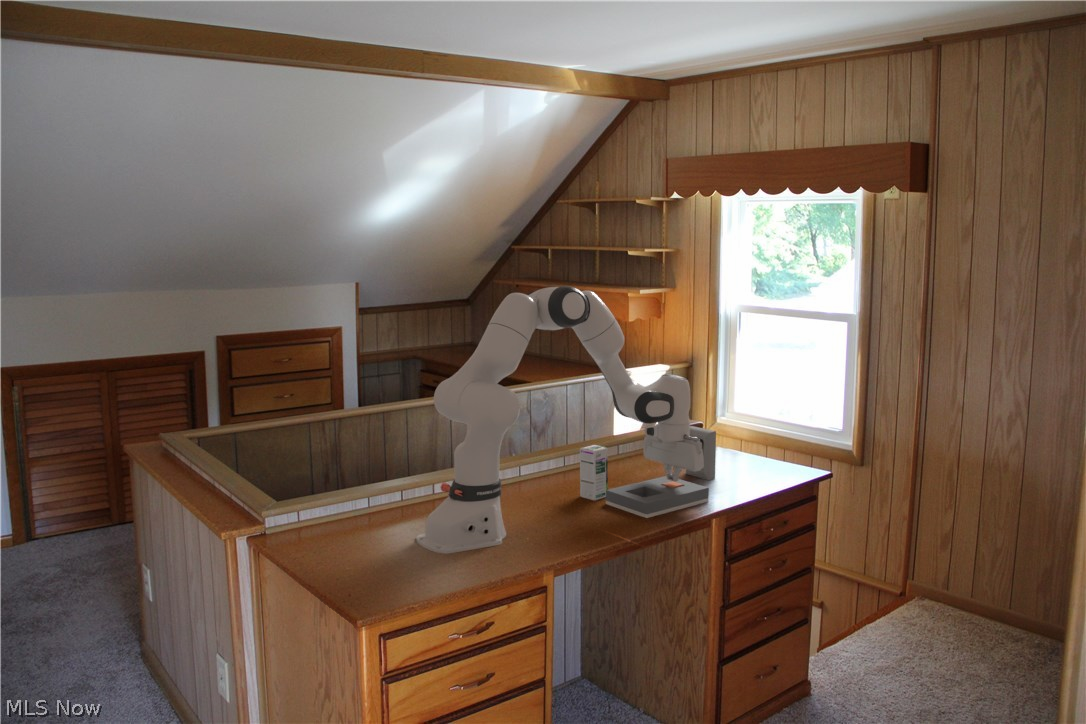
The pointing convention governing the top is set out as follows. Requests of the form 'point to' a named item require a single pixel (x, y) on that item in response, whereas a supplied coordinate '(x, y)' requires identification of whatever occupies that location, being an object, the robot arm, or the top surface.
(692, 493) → the grey two-pocket tray
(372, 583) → the top surface
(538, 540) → the top surface
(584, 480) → the syrup box
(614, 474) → the top surface
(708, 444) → the grey upright rectangular block
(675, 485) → the orange block
